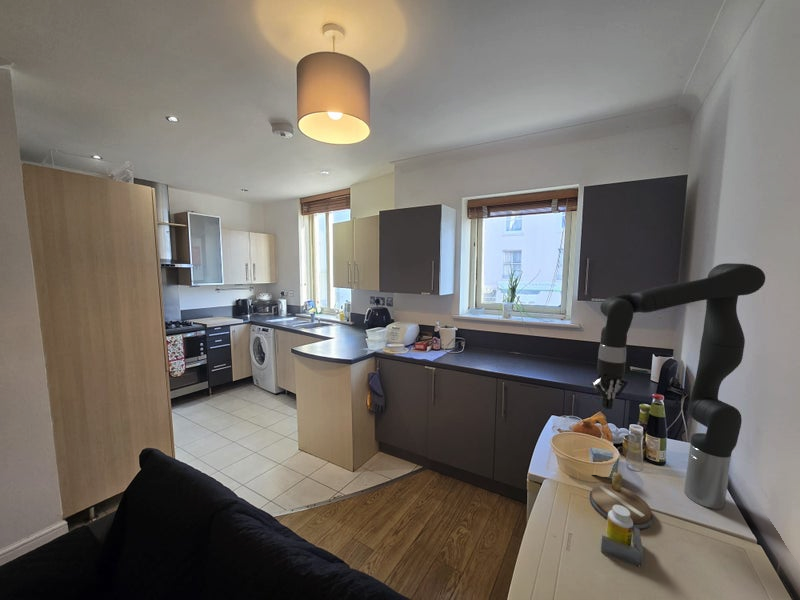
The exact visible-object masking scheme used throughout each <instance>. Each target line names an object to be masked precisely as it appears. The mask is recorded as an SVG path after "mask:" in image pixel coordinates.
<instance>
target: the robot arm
mask: <svg viewBox="0 0 800 600" xmlns="http://www.w3.org/2000/svg"><path fill="white" fill-rule="evenodd" d="M765 282H766V274H765V273H764V271H763V270H762V269H761V268H760V267H759V266H756V265H753V264H750V263H749V264H748V263H721V264H718V265H716V266H714V267H713V268H712V269H710V271H709V272H708V275H707V277H705V278H702V279H697V280H691V281H686V282H678V283H671V284H665V285H659V286H656V287H655V286H654V287H652V288H648V289H644V290H641V291H637V292H632V293H625V294H619V295H612V296H610V297H607V298H606V299H604V300H603V301H602V302H601V304H600V308H599V309H600V313H601V314H603V316H605V317H606V324H605V326H604V327H602V328H601V332H600V333H601V334H600V341H599V342H600V343H599V347H598V354H597V355H598V356H597V365H596V366H597V367H596V369H597V371H598V374H597V379H596V380H595V381H591V383H590V385H591V387H592V388H593V389H594V391H595V393H596V394H597V396H600V397H602V400H601V401H602V402H601V406H602V408H603V409H605V410H612V408H613V406H614V405H613V403H614V399H615V398H616V397H619V396H620V395H621V394H622V393H623V391H624V390H625V388H626V386H627V385H628V380H627V381H626V380H625V379H623V375H625V371H626V361H627V343H628V332H629V330H630V327H631V325H632V322H633V318H634V314H635V313H646V314H648V313H652V312H657V311H660V310H665V309H669V308H673V307H677V306H678V307H679V306H681V305H686V304H691V303H695V302H700V301H701V302H702V301H706V305H705V307H706V308H705V315H704V321H703V322H704V323H703V330H702V335H701V341H700V349H699V355H698V357H699V358H698V365H697V368H696V370H697V371H696V375H695V380H694V383H693V385H692V386H693V387H692V389H691V390H692V391H691V394H690V395H689V396H690V397H689V399H688V403H687V411H688V415H689V416H690V417H691V418H692V419H693V420H694V421H696V422H698V423H699V424H700V425H702V426H704V427H706V431H705V432H704V433H701V432H699V433H694V434H692V435H691V437H690V444H689V452H688V459H687V460H688V461H687V467H686V475H685V480H684V481H685V482H684V489H683V491H684V494H685V495H686V496H687V497H688V498H689V499H690V500H691V501H693V502H695V503H696V504H698V505H701V506H703V507H705V508H708V509H713V510H719V509H720V510H721V509H723V508H724V506H725V503H726V498H727V490H728V485H729V479H730V475H729V472H730V466H731V458H732V454H733V451H734V449H735V448H736V446H737V444H738V439H739V435H740V431H741V428H742V414H741V411H739V410H738V409H737V408H736V407H735V406H733V405H731V404H728V403H727V402H724V401H722V400H721V399H720V400H719V391H720V386H721V384H722V383H723V381H724V380H725V379H726V377H728V376H730V375H731V374H732V373H733V372H734V371H735V370H736V369H737V368H738V367H739V366H740V364H741V363H742V360H743V356H744V351H745V343H746V338H745V334H744V331H743V328H742V325H741V322H740V320H739V317H738V313H737V312H738V311H737V305H738V298H739V296H747V295H751V294H753V293H754V294H755V293H756V292H758V291H759V290H760V289H762V288H763V286H764V285H765Z"/></svg>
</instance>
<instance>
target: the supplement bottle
mask: <svg viewBox="0 0 800 600" xmlns="http://www.w3.org/2000/svg"><path fill="white" fill-rule="evenodd" d="M606 520H607V519H606ZM605 531H606V532H605V536H606V537H609V538H611V539H614V540H616V541H619V542H622V543H624V544H627V545H629V546H632V539H633V521H632V519H631V518H630V511H629V510H628V509H627V508H625V507H623V506H621V505H614V506H613V507H612V510H610V511H609V512H608V520H607V521H606V530H605Z"/></svg>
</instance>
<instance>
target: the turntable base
mask: <svg viewBox="0 0 800 600" xmlns="http://www.w3.org/2000/svg"><path fill="white" fill-rule="evenodd" d="M589 503H590V505H591V507H592V508H593V509H594V510H595V511H596V513H598V514H599V515H600V516H601V517H603V518H604V519H605V520H608V515H607V514H606V513H605V512H603V511H602V510H601V509H600V508H599V507H598V506H597V505H596V504H595V503H594V501H593V499H592V490H590V493H589ZM653 519H654V516H653V513H652V512H651V519H650V521H649V522H648V523H646V524H642V525H634V524H633V530H634V528H637V529H639V531H645V530H648V529H649V528H651V527H652V526H653V522H654V521H653Z"/></svg>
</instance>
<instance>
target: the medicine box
mask: <svg viewBox="0 0 800 600" xmlns="http://www.w3.org/2000/svg"><path fill="white" fill-rule="evenodd" d="M589 450H590V451H589V460H588V462H589V461H593V462H603V461H608V460H610V459H612V458H613V454H614V452H613V451H614V450H611V449H605V448H600V447H593V446H592V447H591V446H590V449H589ZM619 461H620V458H619V457H618V459H617V461H616V462H615V464H614V465H613V468H612V471H611V474H610V476H609V480H612V478H613V473H614V472H616V473H619V472H618V469H619Z"/></svg>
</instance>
